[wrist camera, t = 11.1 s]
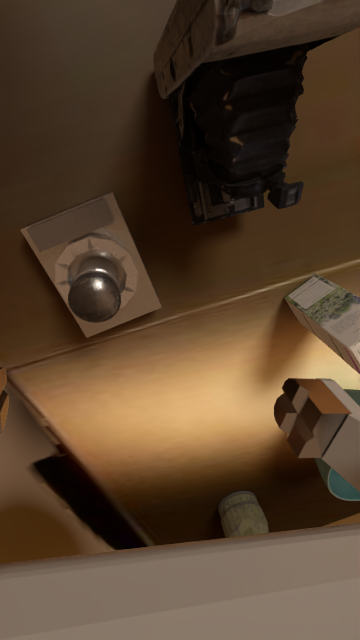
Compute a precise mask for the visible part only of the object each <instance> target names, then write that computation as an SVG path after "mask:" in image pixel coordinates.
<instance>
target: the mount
mask: <svg viewBox="0 0 360 640" xmlns="http://www.w3.org/2000/svg"><path fill="white" fill-rule="evenodd" d="M20 230H21V232H22V233H23V235H24V236H25V238H26V240H27V241H28V243H29V245H30V246H31V248H32V250H33V251H34V253H35V254H36V256H37V258H38V259H39V261H40V263H41V264H42V266H43V267H44V269H45V271H46V272H47V274H48V276H49V277H50V279H51V280H52V282H53V284H54V285H55V287H56V289H57V290H58V292H59V293H60V295H61V297H62V298H63V300H64V302H65V303H66V305H67V307H68V308H69V310H70V311H71V313H72V315H73V316H74V318H75V320H76V321H77V323H78V324H79V326H80V328H81V329H82V331H83V333H84V334H85V336H86V337H87V338H88V337H90V336H93V335H95V334H98V333H100V332H103V331H105V330H107V329H110V328H112V327H115V326H117V325H120V324H122V323H125V322H127V321H129V320H132V319H134V318H137V317H139V316H142V315H144V314H147V313H149V312H152V311H154V310H156V309H159V308H161V307H162V306H161V303H160V300H159V297H158V295H157V293H156V290H155V288H154V286H153V283H152V281H151V279H150V276H149V274H148V272H147V269H146V267H145V265H144V262H143V260H142V258H141V255H140V253H139V251H138V248H137V246H136V244H135V241H134V239H133V237H132V234H131V232H130V230H129V227H128V225H127V223H126V220H125V218H124V216H123V213H122V211H121V209H120V206H119V204H118V202H117V199H116V197H115V195H114V192H113V190H111V191H109V192H106V193H104V194H101V195H99V196H97V197H94V198H92V199H89V200H87V201H84V202H82V203H79V204H77V205H74V206H72V207H69V208H67V209H64V210H62V211H60V212H57V213H55V214H52V215H50V216H47V217H45V218H42V219H40V220H37V221H35V222H32V223H30V224H28V225H26V226H25V227H23V228H22V229H20ZM92 258H101V259H105V260H107V261H109V262H110V263H112V264H113V265H114V267H115V268H116V270H117V272H118V275H119V289H120V293H121V305H120V308H119V310H118V312H117V313H116V314H115V315H114V316H113V317H112V318H111V319H109V320H107V321H104V322H99V323H93V322H87V321H84V320H82V319H80V318H79V317H77V316H76V315H75V314H74V313H73V311H72V310H71V308H70V306H69V303H68V294H69V290H70V287H71V285H72V283H73V282H74V280H75V277H76V274H77V271H78V268H79V267H80V265H81V264H82V263H83V262H85V261H86V260H89V259H92Z"/></svg>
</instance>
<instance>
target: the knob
mask: <svg viewBox="0 0 360 640" xmlns="http://www.w3.org/2000/svg"><path fill="white" fill-rule="evenodd" d="M68 303H69V306H70V308H71V310H72V311H73V313H74V314H75V315H76V316H77V317H79V318H80V319H82V320H84V321H87V322H93V323H99V322H104V321H107V320H109V319H111V318H112V317H113V316H114V315H115V314H116V313H117V312H118V310H119V308H120V305H121V293H120V289H119V275H118V272H117V270H116V268H115V267H114V265H113V264H112V263H110V262H109V261H107V260H105V259H101V258H92V259H89V260H86V261H85V262H83V263H82V264H81V265H80V267H79V268H78V271H77V274H76V277H75V280H74V282H73V283H72V285H71V287H70V290H69V294H68Z"/></svg>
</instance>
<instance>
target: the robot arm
mask: <svg viewBox="0 0 360 640" xmlns="http://www.w3.org/2000/svg"><path fill="white" fill-rule="evenodd" d="M6 381H7V377H6V370H5V369H4V368H3V367H0V433H1V432H2V430H3V427H4V424H5V422H6V417H7V412H8V394H7V393H6V392H5V391H4V390H3V388H4V386H5V384H6ZM282 390H283V394H282V395H281V396H280V397H278V398H277V400H276V403H275V405H274V417H275V420H276V422H277V424H278V426H279V428H280V429H282V430H283V431H284V432H286V433H287V441H288V443H289V444H290V446H291V448H292V449H293V451H294V453H295V454H296V456H297V457H298V458H322V460H323V461H325V462H326V463H327V464H328V465H329V466H330V467H331V468H333V469H334V470H335V471H336V472H337V473H338V474H339V475H341V476H342V477H343V478H344V479H345V480H346V481H348V482H349V483H350V484H351V485H352V486H353V487H354V488H356V489H357V490H358V491H359V492H360V406H359V405H358V404H357V403H356V402H355V401H354V400H353V399H352V398H351V397H350V396H349V395H348V394H347V393H346V392H345V391H344V390H343V389H342V388H341V387H340V386H339V385H338V384H337V383H336V382H335V381H334V380H331V379H299V378H288V379H287V380H286V381H285V382H284V385H283V387H282ZM0 640H360V523H353V524H345V525H336V526H327V527H318V528H309V529H301V530H292V531H283V532H274V533H266V534H257V535H248V536H239V537H231V538H222V539H213V540H205V541H196V542H187V543H179V544H170V545H162V546H153V547H144V548H136V549H127V550H118V551H109V552H101V553H93V554H83V555H75V556H66V557H57V558H48V559H39V560H30V561H22V562H14V563H5V564H0Z"/></svg>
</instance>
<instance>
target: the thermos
mask: <svg viewBox="0 0 360 640" xmlns="http://www.w3.org/2000/svg"><path fill="white" fill-rule="evenodd" d="M218 511H219V514H220V517H221V524H222V527H223V531H224V534H225V538H231V537H239V536H248V535H257V534H266V533H269V532H268V523H267V520H266V518H265V516H264V513H263V511H262V509H261V507H260V506H259V504H258V502H257V499H256V496H255V495H254V494H253V493H252V492H250V491H238V492H235V493H232V494H230V495H228V496H226V497H225V498H224V499H222V501H221V502H220V503H219V506H218Z"/></svg>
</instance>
